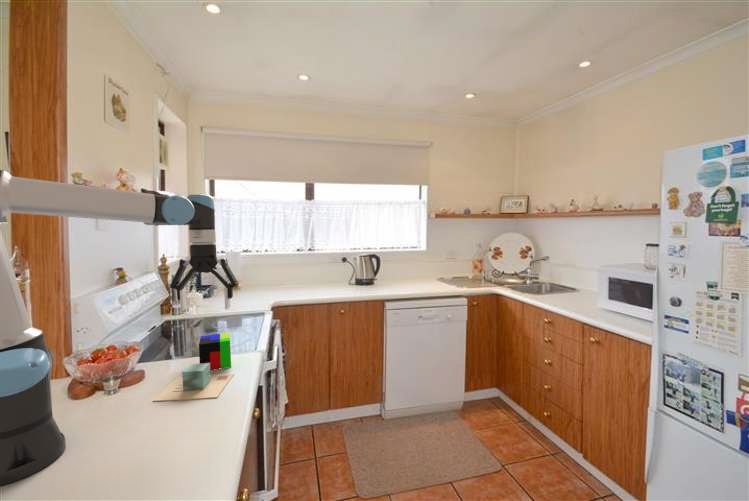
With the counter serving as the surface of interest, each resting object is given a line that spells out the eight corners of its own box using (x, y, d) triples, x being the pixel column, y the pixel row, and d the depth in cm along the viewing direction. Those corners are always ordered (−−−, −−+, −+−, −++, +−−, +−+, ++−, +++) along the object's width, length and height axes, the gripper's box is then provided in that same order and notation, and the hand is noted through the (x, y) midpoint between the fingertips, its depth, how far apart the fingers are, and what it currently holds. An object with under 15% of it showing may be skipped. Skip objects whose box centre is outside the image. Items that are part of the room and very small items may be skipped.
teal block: (183, 390, 104) (182, 372, 104) (191, 382, 110) (190, 364, 110) (203, 389, 105) (202, 370, 104) (210, 381, 111) (209, 363, 110)
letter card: (152, 401, 98) (152, 400, 98) (178, 377, 114) (178, 376, 114) (217, 397, 100) (217, 396, 100) (233, 374, 116) (233, 373, 116)
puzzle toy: (201, 362, 127) (200, 336, 127) (230, 357, 131) (229, 332, 131) (200, 372, 118) (198, 344, 117) (231, 367, 122) (230, 340, 121)
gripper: (155, 244, 103) (159, 313, 105) (239, 243, 105) (242, 310, 107) (167, 243, 111) (171, 307, 112) (246, 242, 113) (248, 305, 114)
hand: (206, 309), depth 110 cm, fingers open, 13 cm apart
